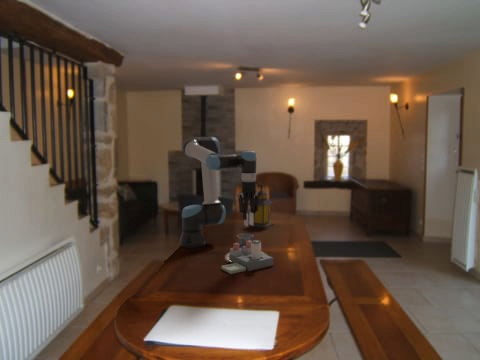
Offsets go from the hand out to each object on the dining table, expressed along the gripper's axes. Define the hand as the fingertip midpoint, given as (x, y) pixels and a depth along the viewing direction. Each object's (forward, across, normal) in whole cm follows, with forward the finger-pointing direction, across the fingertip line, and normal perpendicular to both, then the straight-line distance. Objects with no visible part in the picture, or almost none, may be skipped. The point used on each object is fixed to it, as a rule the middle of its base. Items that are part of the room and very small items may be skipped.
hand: (248, 225), depth 217 cm
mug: (+19, +4, +10) cm, 21 cm away
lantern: (+19, +54, +60) cm, 83 cm away
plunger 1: (+13, -8, 0) cm, 15 cm away
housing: (+19, -3, -6) cm, 20 cm away
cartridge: (+19, -3, -10) cm, 22 cm away
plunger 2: (+13, 0, 0) cm, 13 cm away
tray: (+18, -16, -10) cm, 26 cm away
